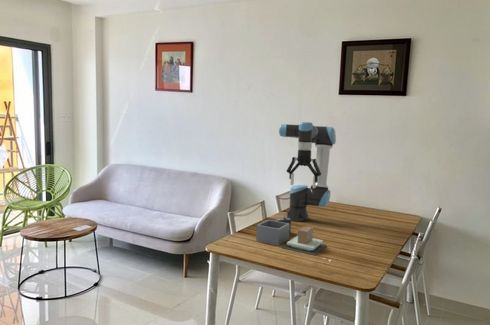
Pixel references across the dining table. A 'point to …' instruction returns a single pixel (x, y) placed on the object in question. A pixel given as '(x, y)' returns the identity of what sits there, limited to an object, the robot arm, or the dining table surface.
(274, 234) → the storage box
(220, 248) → the dining table surface
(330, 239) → the dining table surface
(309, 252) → the mat
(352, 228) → the dining table surface
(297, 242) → the block on square base
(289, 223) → the dark elongated oval piece
